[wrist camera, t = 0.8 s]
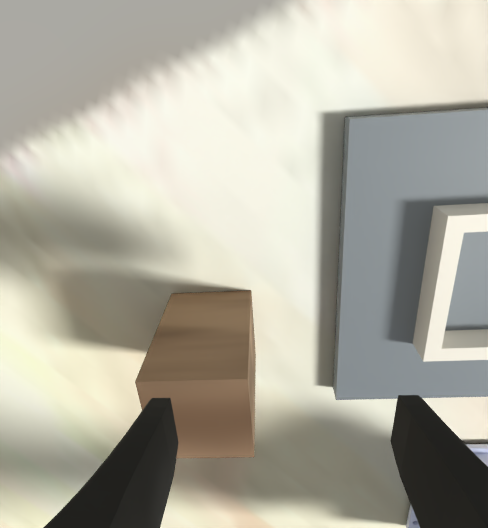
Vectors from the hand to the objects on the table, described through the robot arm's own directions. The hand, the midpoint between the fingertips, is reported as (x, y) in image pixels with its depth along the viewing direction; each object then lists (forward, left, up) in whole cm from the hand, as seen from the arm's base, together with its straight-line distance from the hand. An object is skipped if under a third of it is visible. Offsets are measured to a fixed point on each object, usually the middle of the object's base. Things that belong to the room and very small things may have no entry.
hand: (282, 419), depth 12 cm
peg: (-3, +3, -10) cm, 11 cm away
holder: (0, -12, -10) cm, 15 cm away
